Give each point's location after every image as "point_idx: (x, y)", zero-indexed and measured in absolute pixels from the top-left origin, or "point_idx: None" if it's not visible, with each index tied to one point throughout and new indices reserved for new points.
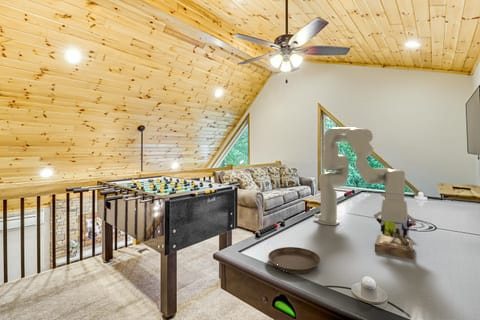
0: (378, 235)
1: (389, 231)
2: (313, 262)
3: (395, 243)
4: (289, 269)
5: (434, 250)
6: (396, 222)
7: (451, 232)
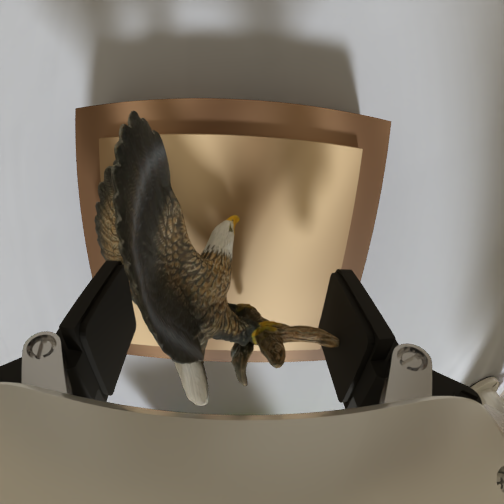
0: None
1: (273, 336)
2: None
3: (208, 193)
4: None
5: (45, 324)
6: (147, 412)
7: None
